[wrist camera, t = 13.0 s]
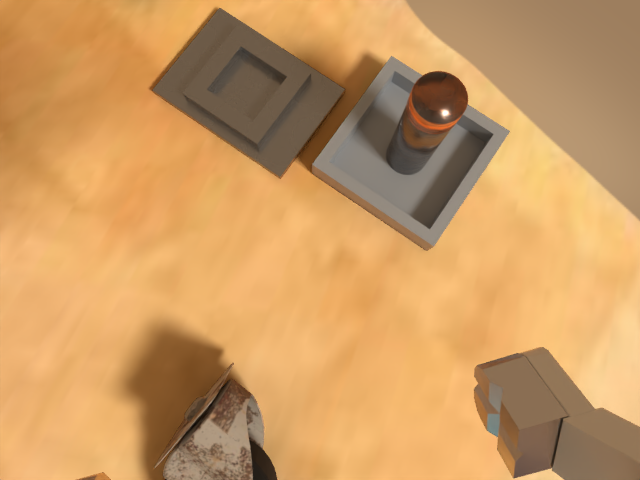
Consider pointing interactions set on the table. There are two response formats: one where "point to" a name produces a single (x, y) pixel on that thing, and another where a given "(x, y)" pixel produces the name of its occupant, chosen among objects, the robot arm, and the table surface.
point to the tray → (397, 189)
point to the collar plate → (249, 92)
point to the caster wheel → (220, 438)
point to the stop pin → (426, 121)
